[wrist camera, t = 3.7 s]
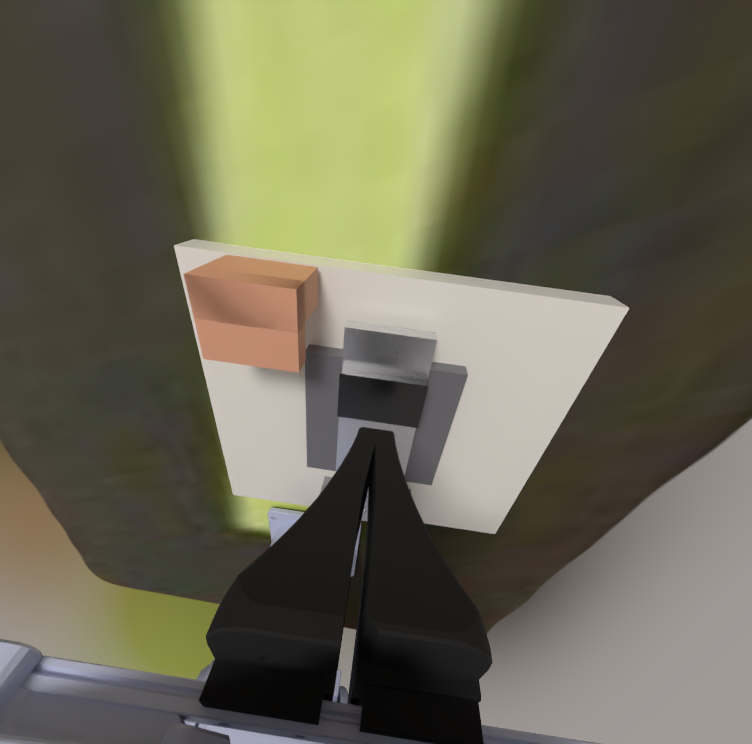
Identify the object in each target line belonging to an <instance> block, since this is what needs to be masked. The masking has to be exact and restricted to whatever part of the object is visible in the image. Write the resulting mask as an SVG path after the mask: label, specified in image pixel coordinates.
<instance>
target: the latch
mask: <svg viewBox="0 0 752 744" xmlns="http://www.w3.org/2000/svg"><path fill="white" fill-rule="evenodd" d="M184 278H185V282H186V286H187V291H188V295H189V299H190V303H191V308H192V312H193V316H194V321H195V325H196V329H197V333H198V338H199V342H200V346H201V351H202V355H203V359H207V360H214V361H221V362H228V363H235V364H242V365H249V366H255V367H262V368H269V369H276V370H283V371H290V372H297V373H299V372H300V370H301V368H302V367H303V365H304V363H305V361H306V335H305V322H306V321H307V319H308V318H309V316H310V315H311V314H312V312H313V311H314V309H315V308H316V306H317V305H318V267H313V266H305V265H298V264H291V263H284V262H276V261H269V260H262V259H255V258H247V257H240V256H233V255H224V256H222V257H220V258H218V259H215V260H213V261H211V262H209V263H207V264H204V265H202V266H200V267H198V268H195V269H193V270H191V271H189V272H187V273H184Z"/></svg>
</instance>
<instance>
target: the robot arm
mask: <svg viewBox="0 0 752 744" xmlns="http://www.w3.org/2000/svg"><path fill="white" fill-rule="evenodd" d="M368 488H369V490H368ZM367 492H368V516H367V543H366V556H365V565H364V573H363V582H362V590H361V598H360V606H359V615H358V623H357V631H356V639H355V647H354V656H353V663H352V671H351V679H350V687H349V695H348V692H347V690H346V688H345V687H343V686H339V685H340V677H341V670H338V661H339V655H340V648H341V641H342V634H343V627H344V620H345V613H346V606H347V599H348V592H349V585H350V578H351V577H352V576H354V571H355V565H356V558H357V551H358V545H359V538H360V531H361V519H362V515H363V510H364V506H365V501H366V497H367ZM268 519H269V526H270V533H271V540H272V543H271V545H270V548H269V549H267V550H266V551H265V552H264V553H263V554H262V555H261V556H259V557H258V558H257V559H256V560H255V561H254V562H252V563H251V564H250V565H249V566H248V567H247V568H246V569H244V570H243V571H242V572H241V573H240V574H239V575H238V577H237V578H236V579H235V581H234V582H233V584H232V585H231V587H230V588H229V590H228V592H227V593H226V595H225V597H224V598H223V600H222V602H221V604H220V606H219V607H218V609H217V612H216V614H215V617H214V619H213V621H212V623H211V625H210V628H209V630H208V632H207V635H206V640H207V644H208V646H209V648H210V650H211V652H212V654H213V656H214V657H215V660H213V661H212V663H211V664H210V665H208V666H207V667H205V668H204V669H203V670H202V671H201V672H200V674H199V675H198V678H197V679H196V680H194V679H188V678H182V677H176V676H169V675H162V674H157V673H150V672H144V671H138V670H130V669H125V668H118V667H113V666H106V665H100V664H94V663H87V662H81V661H75V660H68V659H62V658H56V657H49V656H43V655H42V653H41V652H40V651H39V650H38V649H36V648H35V647H33V646H31V645H28V644H25V643H21V642H16V641H9V640H3V639H0V744H599V743H592V742H585V741H579V740H573V739H566V738H560V737H555V736H548V735H542V734H536V733H529V732H523V731H516V730H510V729H503V728H498V727H491V726H485V725H481V719H480V712H479V704H478V702H480V701H481V692H480V686H479V679H480V678H481V677H482V676H483V675H484V673H486V672H487V671H488V669H489V668H490V666H491V664H492V658H491V651H490V646H489V642H488V638H487V634H486V631H485V628H484V624H483V622H482V619H481V616H480V613H479V611H478V609H477V608H476V606H475V605H474V604H473V602H472V601H471V599H470V598H469V597H468V595H467V594H466V592H465V591H464V589H463V588H462V586H461V585H460V583H459V582H458V581H457V579H456V577H455V576H454V574H453V573H452V571H451V570H450V568H449V567H448V565H447V563H446V562H445V560H444V558H443V557H442V555H441V553H440V551H439V550H438V548H437V546H436V544H435V543H434V541H433V539H432V538H431V536H430V534H429V532H428V530H427V528H426V526H425V524H424V522H423V520H422V518H421V516H420V514H419V512H418V509H417V507H416V505H415V503H414V500H413V498H412V495H411V493H410V490H409V488H408V485H407V482H406V479H405V476H404V473H403V470H402V467H401V464H400V460H399V456H398V452H397V448H396V443H395V435H394V433H393V432H392V431H388V430H381V429H374V428H367V427H361V428H359V430H358V433H357V436H356V438H355V440H354V442H353V444H352V446H351V448H350V450H349V452H348V454H347V455H346V457H345V459H344V460H343V462H342V464H341V465H340V467H339V468H338V470H337V471H336V473H335V474H334V476H333V477H332V479H331V480H330V481H329V483H328V484H327V486H326V487H325V488H324V490H323V491H322V492H321V493H320V495H319V496H318V497H317V498H316V500H315V501H314V502H313V503H312V504H311V506H310V507H309V508H308V509H307V510H306V511H305V512H301V511H294V510H288V509H281V508H270V509H269V511H268Z"/></svg>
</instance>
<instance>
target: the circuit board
mask: <svg viewBox="0 0 752 744" xmlns="http://www.w3.org/2000/svg"><path fill="white" fill-rule="evenodd" d="M174 248H175V252H176V257H177V261H178V265H179V269H180V273H181V278H182V282H183V286H184V290H185V294H186V299H187V303H188V307H189V311H190V315H191V320H192V324H193V328H194V332H195V336H196V341H197V345H198V349H199V353H200V357H201V362H202V366H203V370H204V374H205V378H206V383H207V387H208V391H209V395H210V399H211V404H212V408H213V412H214V416H215V420H216V425H217V429H218V433H219V437H220V441H221V446H222V450H223V454H224V458H225V462H226V467H227V471H228V475H229V479H230V483H231V488H232V492H233V495H239V496H245V497H252V498H259V499H265V500H272V501H279V502H285V503H292V504H299V505H305V506H311V504H312V503H313V502H314V501H315V500H316V498H317V497H318V496H319V495H320V493H321V492H322V491H323V490H324V488H325V487H326V486H327V484H328V483H329V481H330V480H331V479H332V477H333V476H334V474H335V472H336V456H337V440H338V424H339V417H338V416H337V410H338V393H339V375H340V371H341V368H342V359H343V343H344V327H345V325H346V323H347V320H351V321H358V322H366V323H373V324H380V325H387V326H394V327H401V328H408V329H416V330H423V331H430V332H436V336H437V343H436V347H435V352H434V356H433V360H432V364H431V368H430V372H429V376H428V385H429V387H428V391H427V395H426V399H425V403H424V407H423V411H422V415H421V419H420V423H419V427H418V428H416V430H415V434H414V438H413V443H412V447H411V451H410V455H409V459H408V463H407V467H406V472H405V479H406V482H407V485H408V488H409V490H410V493H411V495H412V498H413V500H414V503H415V505H416V507H417V509H418V512H419V514H420V516H421V518H422V520H423V522H424V523H425V524H432V525H438V526H445V527H452V528H458V529H465V530H471V531H478V532H485V533H491V534H495V533H496V532H497V530H498V528H499V527H500V525H501V523H502V521H503V520H504V518H505V516H506V515H507V513H508V511H509V510H510V508H511V506H512V505H513V503H514V501H515V500H516V498H517V496H518V495H519V493H520V491H521V490H522V488H523V486H524V484H525V483H526V481H527V479H528V478H529V476H530V474H531V473H532V471H533V469H534V468H535V466H536V464H537V463H538V461H539V459H540V458H541V456H542V454H543V453H544V451H545V449H546V447H547V446H548V444H549V442H550V441H551V439H552V437H553V436H554V434H555V432H556V431H557V429H558V427H559V426H560V424H561V422H562V421H563V419H564V417H565V416H566V414H567V412H568V410H569V409H570V407H571V405H572V404H573V402H574V400H575V399H576V397H577V395H578V394H579V392H580V390H581V389H582V387H583V385H584V384H585V382H586V380H587V379H588V377H589V375H590V373H591V372H592V370H593V368H594V367H595V365H596V363H597V362H598V360H599V358H600V357H601V355H602V353H603V352H604V350H605V348H606V347H607V345H608V343H609V342H610V340H611V338H612V336H613V335H614V333H615V331H616V330H617V328H618V326H619V325H620V323H621V321H622V320H623V318H624V316H625V315H626V313H627V311H628V310H629V307H627V306H625V305H624V304H622V303H621V302H619V301H617V300H616V299H614V298H613V297H611V296H605V295H598V294H591V293H583V292H576V291H569V290H561V289H554V288H547V287H539V286H532V285H525V284H518V283H510V282H503V281H496V280H488V279H481V278H474V277H466V276H459V275H452V274H444V273H437V272H430V271H423V270H415V269H408V268H401V267H393V266H386V265H379V264H371V263H364V262H357V261H349V260H342V259H335V258H328V257H320V256H313V255H306V254H298V253H291V252H284V251H276V250H269V249H262V248H254V247H247V246H240V245H233V244H225V243H218V242H211V241H203V240H196V239H193V240H190V241H186V242H183V243H180V244H177V245H174ZM224 255H233V256H240V257H247V258H255V259H262V260H269V261H276V262H284V263H291V264H298V265H305V266H313V267H318V305H317V306H316V308H315V309H314V311H313V312H312V314H311V315H310V316H309V318H308V319H307V321H306V322H305V335H306V361H305V363H304V365H303V367H302V368H301V370H300V372H299V373H297V372H290V371H283V370H276V369H269V368H262V367H255V366H249V365H242V364H235V363H228V362H221V361H214V360H207V359H203V355H202V351H201V346H200V342H199V338H198V333H197V329H196V325H195V321H194V316H193V312H192V308H191V303H190V299H189V295H188V291H187V286H186V282H185V278H184V273H187V272H189V271H191V270H193V269H195V268H198V267H200V266H202V265H204V264H207V263H209V262H211V261H213V260H215V259H218V258H220V257H222V256H224Z"/></svg>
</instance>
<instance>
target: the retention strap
mask: <svg viewBox="0 0 752 744" xmlns="http://www.w3.org/2000/svg"><path fill="white" fill-rule="evenodd" d="M436 343H437V336H436V332H430V331H423V330H416V329H408V328H401V327H394V326H387V325H380V324H373V323H366V322H358V321H351V320H347V323H346V325H345V327H344V343H343V359H342V368H341V371H340V375H339V393H338V410H337V416H338V417H339V424H338V440H337V456H336V471H337V470H338V468H339V467H340V465H341V464H342V462H343V460H344V459H345V457H346V455H347V454H348V452H349V450H350V448H351V446H352V444H353V442H354V440H355V438H356V436H357V433H358V430H359V428H361V427H367V428H374V429H381V430H388V431H392V432H393V433H394V435H395V443H396V448H397V452H398V456H399V460H400V464H401V467H402V470H403V473H404V476H405V472H406V467H407V463H408V459H409V455H410V451H411V447H412V443H413V438H414V434H415V430H416V428H418V427H419V423H420V419H421V415H422V411H423V407H424V403H425V399H426V395H427V391H428V387H429V385H428V376H429V372H430V368H431V364H432V360H433V356H434V352H435V347H436ZM335 473H336V472H335ZM368 490H369V488H368ZM367 516H368V492H367V497H366V501H365V506H364V510H363V515H362V519H361V521H367Z"/></svg>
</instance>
